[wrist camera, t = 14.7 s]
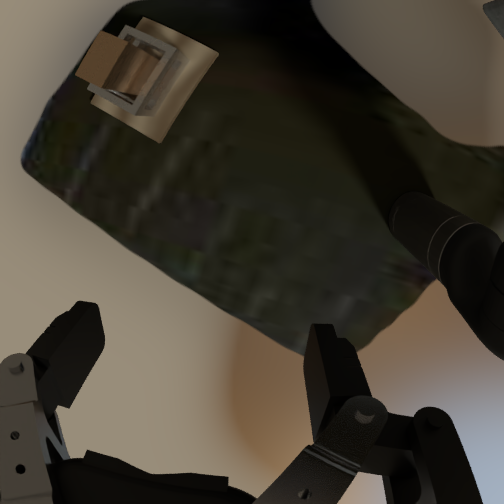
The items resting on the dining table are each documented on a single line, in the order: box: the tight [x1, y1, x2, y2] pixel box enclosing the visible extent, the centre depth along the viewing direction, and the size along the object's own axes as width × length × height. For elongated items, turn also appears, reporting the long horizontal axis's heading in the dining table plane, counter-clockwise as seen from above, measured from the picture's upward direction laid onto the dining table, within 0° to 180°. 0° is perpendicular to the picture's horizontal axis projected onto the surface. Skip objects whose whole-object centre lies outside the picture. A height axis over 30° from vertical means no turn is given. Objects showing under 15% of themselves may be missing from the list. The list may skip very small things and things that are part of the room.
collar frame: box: [87, 25, 190, 117], centre depth 36 cm, size 8×10×8 cm
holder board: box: [91, 17, 219, 143], centre depth 40 cm, size 14×16×1 cm
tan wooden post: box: [75, 31, 160, 95], centre depth 33 cm, size 4×6×16 cm
